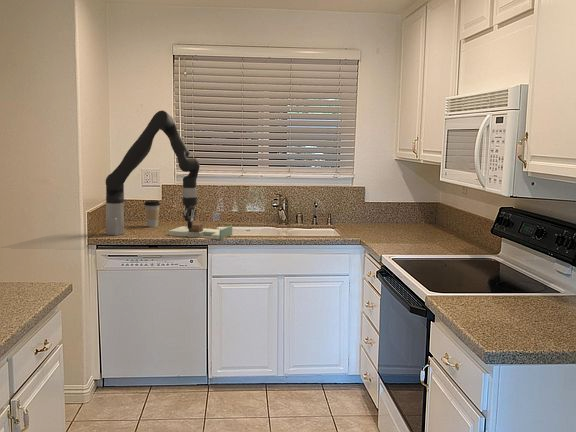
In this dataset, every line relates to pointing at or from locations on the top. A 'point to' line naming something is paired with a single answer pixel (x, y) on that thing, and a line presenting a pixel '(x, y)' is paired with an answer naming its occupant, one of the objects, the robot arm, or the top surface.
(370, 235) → the top surface
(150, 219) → the coffee cup
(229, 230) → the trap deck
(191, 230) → the walnut block
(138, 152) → the robot arm
